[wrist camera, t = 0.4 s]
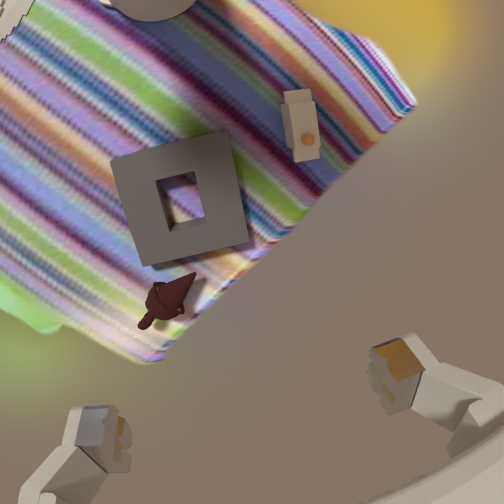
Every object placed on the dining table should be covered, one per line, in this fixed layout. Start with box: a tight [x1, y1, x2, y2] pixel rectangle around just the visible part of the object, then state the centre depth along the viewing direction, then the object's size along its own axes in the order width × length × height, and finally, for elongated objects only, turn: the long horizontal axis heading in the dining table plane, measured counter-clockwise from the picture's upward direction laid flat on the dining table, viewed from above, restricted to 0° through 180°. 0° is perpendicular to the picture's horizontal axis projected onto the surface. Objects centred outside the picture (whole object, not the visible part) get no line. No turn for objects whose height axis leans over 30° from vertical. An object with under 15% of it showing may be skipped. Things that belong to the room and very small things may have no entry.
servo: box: [280, 89, 321, 163], centre depth 46 cm, size 11×4×6 cm, turn 10°
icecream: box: [138, 272, 196, 330], centre depth 55 cm, size 7×7×15 cm
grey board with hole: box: [110, 130, 250, 267], centre depth 50 cm, size 18×18×3 cm
